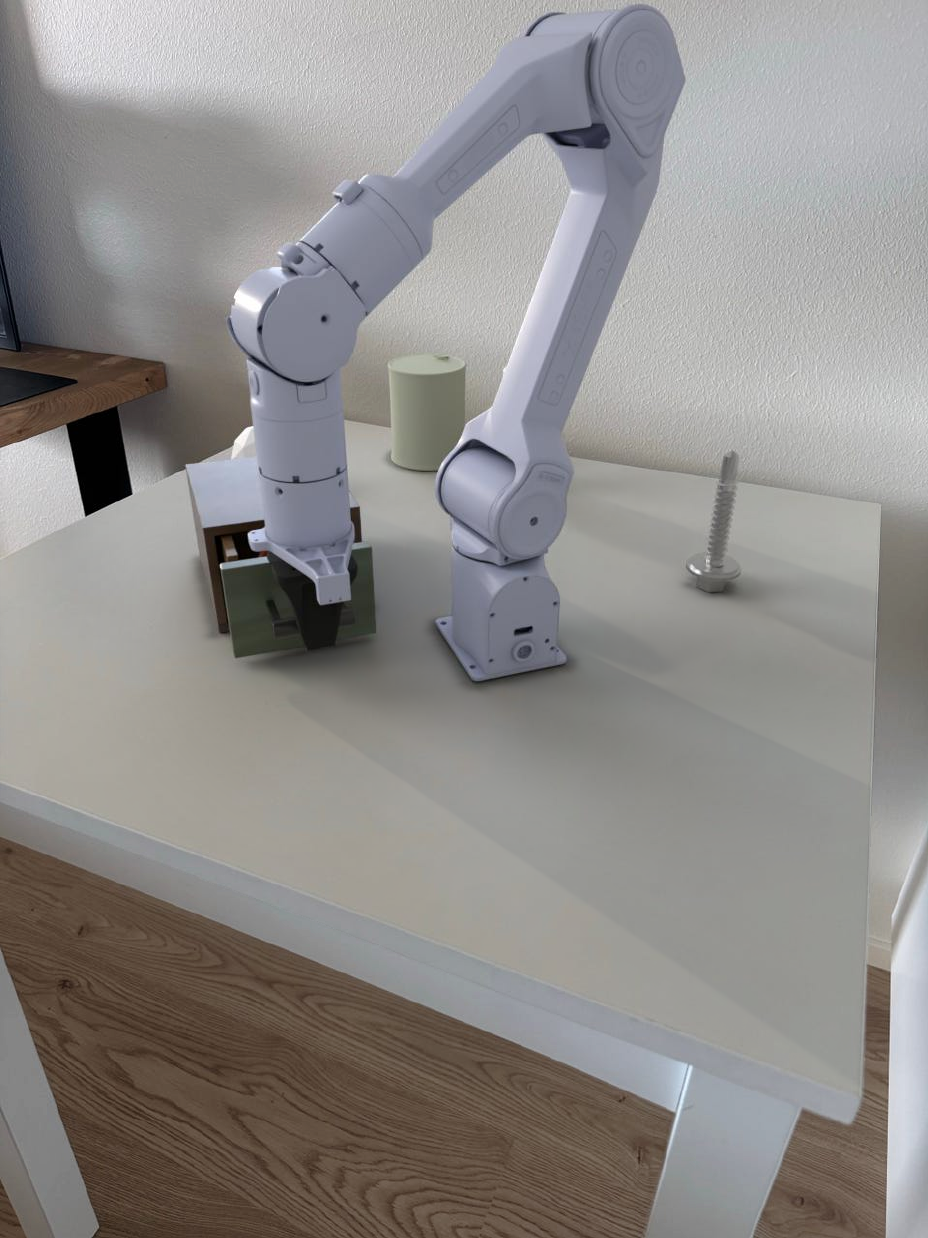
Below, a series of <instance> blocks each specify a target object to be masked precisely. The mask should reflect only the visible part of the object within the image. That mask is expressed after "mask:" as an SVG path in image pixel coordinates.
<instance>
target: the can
mask: <svg viewBox="0 0 928 1238" xmlns="http://www.w3.org/2000/svg"><path fill="white" fill-rule="evenodd" d="M387 369H388V380H389V381H388V382H389V399H390V401H389V402H390V403H389V404H390V427H391V429H390V430H391V454H390V459H391V461H392V463H393V464H394V465H396V466H398V467H400V468H403V469H406V470H410V471H411V470H412V471H417V472H438V470H439V468H440V466H441V464H442V462H443V461H444V459H445V458H446V457H447V456H448V455H449V454H450V452H451V451H452V450H453V449H454V448H455V447H456V445H457V444H458V442H459V440H460V438H461V436H462V433H463V431H464V428H465V425H466V369H467V363H466V361H465V360H464V359H462V358H460V357H458V356H454V355H450V354H442V353H413V354H406V355H400V356H398V357H395V358H393V359H391V360H389V362H388V363H387Z"/></svg>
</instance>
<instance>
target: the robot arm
mask: <svg viewBox="0 0 928 1238" xmlns="http://www.w3.org/2000/svg"><path fill="white" fill-rule="evenodd" d="M685 84H686V75H685V71H684V68H683V64H682V60H681V55H680V53H679V49H678V45H677V41H676V38H675V35H674V31H673V28H672V26H671V24H670V23H669V21H668V19H667V18H666V16H665V15H664V14H663V13H662V12H661V11H660V10H658V9H657V8H656V7H653V6H651V5H649V4H646V3H633V4H628V5H626V6H624V7H621V8H615V9H605V10H594V11H582V12H581V11H580V12H572V13H566V12H559V11H552V12H546V13H543V14H541V15H539V16H537V17H536V18H534V19H533V20H531V22H530V23H528V24H527V26H526V27H525V28H524V30H523V31H522V33H521V34H520V36H515V37H514V38H513V39H511V40H510V41H509V42H507V43H506V44H504V45H503V46H501V48H500V51H499V52H498V54H497V56H496V58H495V60H494V62H493V64H492V66H491V67H489V69H488V71H487V72H486V73H485V74H484V75H483V76H482V77H481V78H480V80H478V82H477V83H476V84H475V85H474V86H473V87H472V88H471V89H470V91H469V92H468V93H467V94H466V95H465V96H464V97H463V98H462V99H461V100H460V102H459V103H458V104H457V105H456V106H455V107H454V109H453V110H452V111H451V112H450V113H449V114H448V115H447V116H446V118H445V119H444V120H443V121H442V122H441V123H440V124H439V125H438V126H437V128H436V129H435V130H434V131H433V132H432V133H431V134H430V136H429V137H428V138H427V139H426V140H425V141H424V142H423V143H422V144H421V145H420V147H419V148H418V149H417V150H416V151H415V152H414V154H412V155H411V157H410V158H409V159H408V160H407V161H406V162H405V164H403V166H402V167H401V168H400V169H399V170H398V171H397V172H396V174H395V175H393V176H389V175H385V174H384V175H383V174H378V173H368V174H365V175H363V177H362V178H361V179H360V180H359V181H357V180H352V179H346V178H345V179H344V180H343V181H342V182H341V183H340V184H339V185H338V186H337V187H335V189H334V190H333V191H332V196H333V198H334V199H335V201H336V202H337V203H335V204H334V205H333V207H332V208H331V209H329V210H328V211H327V213H325V214H324V215H323V216H322V218H321V219H319V220H318V222H317V223H316V224H314V225H313V226H312V227H311V228H310V229H309V230H308V231H307V232H306V233H305V235H303V237H302V238H300V239H299V241H298V242H297V243H292V242H289V241H287V242H285V244H284V245H282V246H281V248H280V249H278V251H277V252H276V253H277V255H276V256H277V257H278V258H279V259H280V267H279V266H270V267H269V268H266V269H264V268H261V269H258V270H256V271H255V272H253V273H251V274H250V275H248V276H247V277H246V278H245V279H244V280H243V281H242V282H241V284H240V285H239V286H238V288H237V290H236V292H235V294H234V295H233V299H235V300H234V304H231V306H230V307H231V308H230V315H229V316H227V317H226V318H225V323H226V327H227V330H228V334H229V335H230V337H231V340H232V341H233V342H234V344H235V345H236V346H237V348H238V349H239V350H240V351H241V352H242V353H243V354H244V355H245V356H246V357H247V358H246V367H247V376H248V383H249V394H250V397H249V401H250V402H249V403H250V411H251V419H252V426H253V428H254V437H255V445H256V454H257V462H258V470H259V479H260V487H261V495H262V504H263V512H264V521H265V527H264V528H263V529H259V530H253V531H250V532H249V533H248V540H249V544H250V547H251V549H252V550H253V551H256V552H257V551H269V552H268V553H267V559H268V562H269V564H270V566H271V569H272V571H273V574H274V576H275V579H276V581H277V582H278V584H279V585H280V587H281V588H282V590H283V591H284V592H285V593H286V595H287V596H288V598H289V600H290V603H291V606H292V610H293V613H294V617H295V620H296V623H297V626H298V629H299V632H300V635H301V637H302V640H303V642H304V645H305V646H304V647H305V649H306V650H307V651H308V652H311V651H316V650H321V649H327V648H331V647H334V646H335V645H336V643H337V640H336V638H337V634H338V628H339V622H340V616H341V611H342V607H343V603H344V601H348V600H351V591H350V586H351V584H352V583H353V581H354V580H355V578H356V576H357V571H358V565H357V563H356V561H355V559H354V558H353V556H350V555H351V551H352V547H353V542H354V538H355V531H354V525H353V523H352V521H351V517H350V502H349V491H350V487H349V472H348V471H349V469H348V460H347V459H348V458H347V444H346V427H345V414H344V413H345V412H344V397H343V390H342V374H341V368H343V367H345V366H346V365H347V364H348V362H350V359H351V357H352V355H353V352H354V350H355V347H356V342H357V333H358V329H359V326H360V325H361V323H362V322H363V321H365V319H366V318H367V317H368V316H369V315H370V314H371V313H372V312H373V311H374V310H375V309H376V308H377V307H378V306H379V305H380V304H381V303H382V302H383V301H384V300H385V299H386V298H387V297H388V296H389V295H390V294H391V292H393V291H394V290H395V289H396V288H397V287H398V286H399V285H400V283H402V282H403V280H404V279H406V277H408V275H409V274H411V272H412V271H414V269H416V268H417V266H418V265H420V264H421V263H422V261H424V259H425V258H426V257H427V256H428V255H429V254H430V253H431V251H432V248H433V242H434V241H433V240H434V239H433V238H434V223H435V220H436V219H437V218H439V216H440V215H441V214H443V213H444V212H445V211H446V210H447V209H448V208H450V207H451V206H452V205H453V204H454V203H455V202H456V201H457V200H459V198H460V197H462V196H463V195H464V194H465V193H466V192H467V191H468V190H469V189H470V188H472V187H473V186H474V185H475V184H476V183H477V182H478V181H480V179H482V178H483V177H484V176H485V175H486V174H487V173H488V172H489V171H491V169H493V168H494V167H495V166H496V165H497V164H498V163H500V162H501V161H502V159H504V158H505V157H507V155H508V154H510V153H511V152H512V151H513V150H514V149H515V148H516V147H517V146H519V145H520V144H521V143H522V142H524V140H525V139H526V138H528V137H530V136H533V135H540V134H541V136H542V137H543V138H544V140H545V141H546V142H547V143H548V145H549V146H550V148H551V150H552V151H553V152H554V153H555V155H556V156H557V157H558V159H559V160H560V162H561V164H562V167H563V170H564V173H565V175H566V178H567V180H568V183H569V185H570V193H569V196H568V199H567V202H566V205H565V207H564V209H563V212H562V215H561V218H560V221H559V223H558V226H557V229H556V231H555V234H554V237H553V239H552V243H551V245H550V248H549V250H548V253H547V256H546V259H545V260H544V264H543V267H542V269H541V272H540V275H539V277H538V280H537V283H536V286H535V289H534V291H533V293H532V296H531V299H530V302H529V305H528V307H527V310H526V313H525V316H524V318H523V321H522V324H521V327H520V329H519V332H518V335H517V338H516V341H515V343H514V346H513V349H512V351H511V354H510V357H509V360H508V362H507V365H506V366H507V367H506V366H505V367H506V370H505V373H504V375H503V374H502V379H501V381H500V383H499V387H498V389H497V392H496V395H495V397H494V400H493V403H492V406H491V407H490V408H488V409H487V410H485V411H484V412H482V413H480V414H479V415H477V416H476V417H474V418H472V419H471V420H470V421H468V422H467V423H465V428H464V431H463V433H462V436H461V438H460V440H459V442H458V444H457V445H456V447H455V448H454V449H453V450H452V451H451V452H450V454H449V455H448V456H447V457H446V458H445V459H444V461H443V462H442V464H441V466H440V468H439V470H438V471H437V473H436V475H435V481H434V494H435V499H436V501H437V504H438V505H439V507H440V508H441V509H442V511H444V512H445V513H446V514H447V515H448V516H449V530H450V532H451V615H447V616H442V617H438V618H437V619H435V626H436V628H437V629H438V631H439V632H440V633H441V636H442V637H443V638H444V640H445V641H446V642H447V644H448V646H449V647H450V649H451V650H452V652H453V654H454V655H455V657H456V658H457V659H458V661H459V662H460V664H461V665H462V667H463V668H464V670H465V671H466V673H467V675H468V676H469V677H470V679H471V680H472V681H474V682H483V681H486V680H492V679H497V678H502V677H506V676H512V675H515V674H517V675H518V674H521V673H526V672H530V671H535V670H540V669H545V668H546V669H547V668H549V667H554V666H560V665H564V664H566V663H567V659H568V657H567V655H566V654H565V653H564V652H563V650H562V649H561V648H560V647H559V646H558V638H559V637H558V636H559V625H560V624H559V623H560V611H561V610H560V608H561V597H560V596H561V595H560V592H559V590H558V587H557V585H556V584H555V582H554V581H553V580H552V578H551V576H550V574H549V572H548V570H547V567H546V561H545V555H546V554H548V553H549V548H550V547H551V546H552V545H553V544H554V542H555V541H556V540H557V538H559V535H560V533H561V532H562V530H563V527H564V525H565V522H566V517H567V510H568V509H567V505H568V504H567V502H568V501H567V497H568V491H569V488H570V484H571V482H572V479H573V477H574V475H575V469H574V465H573V462H572V459H571V457H570V455H569V452H568V449H567V446H566V444H565V441H564V438H563V434H562V433H563V431H564V428H565V426H566V423H567V421H568V419H569V415H570V413H571V410H572V407H573V405H574V403H575V401H576V399H577V395H578V393H579V390H580V387H581V385H582V382H583V380H584V378H585V375H586V372H587V370H588V367H589V365H590V362H591V360H592V357H593V355H594V352H595V350H596V347H597V345H598V342H599V340H600V337H601V334H602V331H603V330H604V327H605V324H606V321H607V319H608V316H609V315H610V314H609V313H610V311H611V309H612V307H613V304H614V302H615V299H616V297H617V294H618V291H619V289H620V286H621V283H622V281H623V278H624V276H625V274H626V270H627V268H628V265H629V263H630V260H631V258H632V256H633V253H634V251H635V248H636V246H637V243H638V240H639V239H640V235H641V233H642V230H643V228H644V225H645V223H646V220H647V218H648V216H649V213H650V210H651V207H652V204H653V203H654V200H655V197H656V195H657V191H658V188H659V184H660V178H661V170H662V160H663V153H664V145H665V144H664V143H665V137H666V133H667V129H668V126H669V124H670V122H671V120H672V117H673V114H674V112H675V109H676V106H677V104H678V102H679V99H680V96H681V95H682V91H683V89H684V86H685ZM508 457H509V458H510V459H509V458H508Z"/></svg>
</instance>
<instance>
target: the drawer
mask: <svg viewBox="0 0 928 1238" xmlns="http://www.w3.org/2000/svg"><path fill="white" fill-rule="evenodd" d="M252 531H253V530H252ZM249 532H250V531H245V532H238V533H231V534H224V535H216V536H215V537H216V544H217V551H218V557H219V564H220V570H221V577H222V582H223V589H224V595H225V602H226V609H227V615H228V622H229V629H230V631H229V635H230V641H231V648H232V653H233V656H234V657H233V658H234V659H240V658H246V657H252V656H257V655H263V654H268V653H273V652H279V651H285V650H291V649H296V648H301V647H305V645H304V642H303V640H302V637H301V635H300V632H299V629H298V626H297V623H296V620H295V617H294V613H293V610H292V606H291V603H290V600H289V598H288V596H287V595H286V593H285V592H284V591H283V590H282V588H281V587H280V585H279V584H278V582H277V581H276V579H275V576H274V574H273V571H272V569H271V566H270V564H269V562H268V559H267V556H266V557H260V558H259V557H258V556H259V554H260V552H261V551H257V552H256V551H253V550H252V549H251V547H250V544H249V540H248V533H249ZM350 556H353V558H354V559H355V561H356V563H357V565H358V571H357V576H356V578H355V580H354V581H353V583H352V584H351V586H350V591H351V600H348V601H344V603H343V607H342V611H341V616H340V622H339V628H338V634H337V638H336V641H338V640H339V641H340V640H345V639H350V638H355V637H361V636H367V635H371V634H376V633H377V617H376V600H375V598H376V597H375V580H374V561H373V560H374V559H373V547H372V545H371V543H370V542H369V541H367V540H366V541H362V542H359V543H356V541H355V538H354V542H353V547H352V551H351V555H350Z"/></svg>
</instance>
